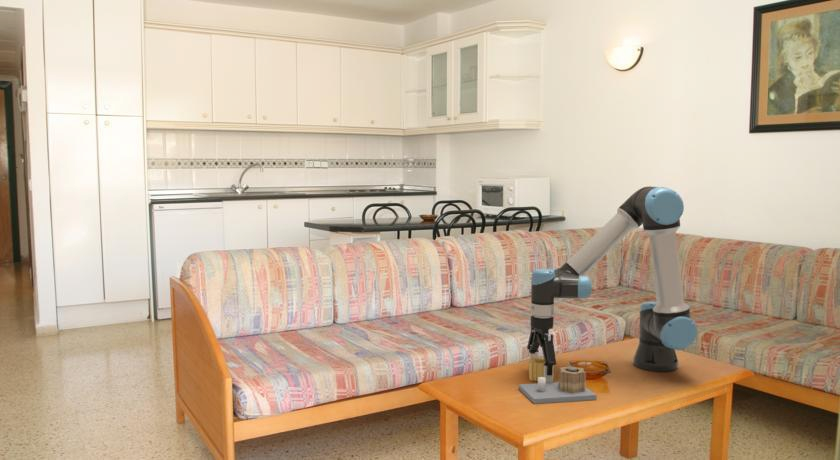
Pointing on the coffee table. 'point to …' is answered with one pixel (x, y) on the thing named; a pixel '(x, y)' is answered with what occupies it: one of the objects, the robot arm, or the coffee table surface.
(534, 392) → the gear board
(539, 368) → the ochre gear
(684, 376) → the coffee table surface
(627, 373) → the coffee table surface
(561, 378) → the gear
